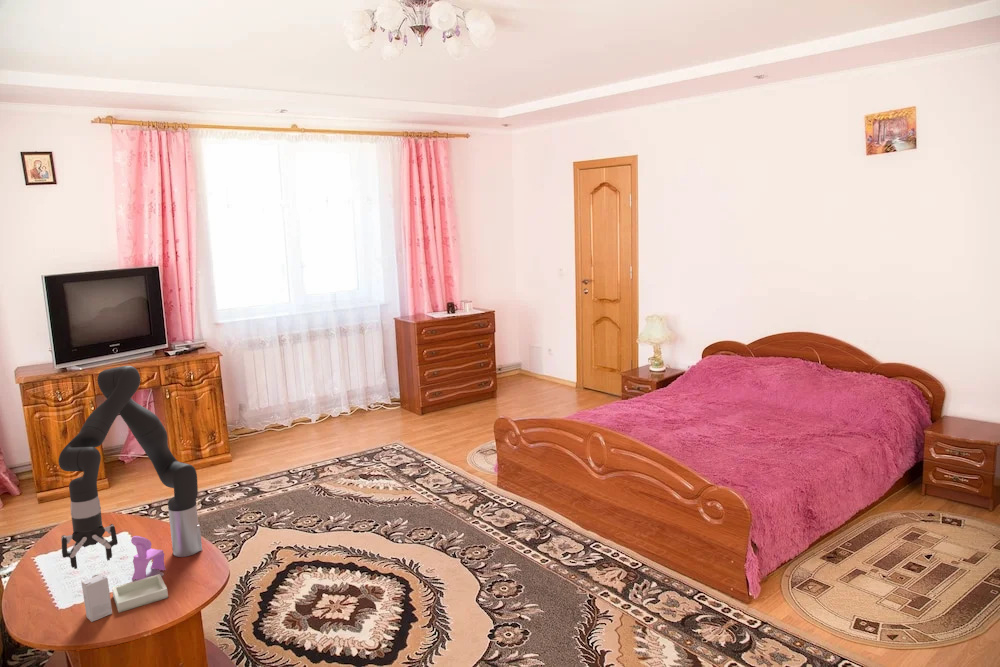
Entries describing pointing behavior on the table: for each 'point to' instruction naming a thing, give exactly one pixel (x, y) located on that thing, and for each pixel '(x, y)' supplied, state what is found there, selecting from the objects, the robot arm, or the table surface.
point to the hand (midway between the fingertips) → (92, 563)
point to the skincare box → (96, 597)
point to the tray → (139, 593)
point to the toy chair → (145, 557)
